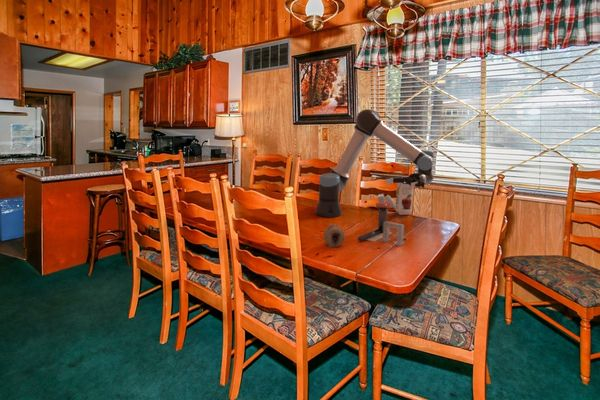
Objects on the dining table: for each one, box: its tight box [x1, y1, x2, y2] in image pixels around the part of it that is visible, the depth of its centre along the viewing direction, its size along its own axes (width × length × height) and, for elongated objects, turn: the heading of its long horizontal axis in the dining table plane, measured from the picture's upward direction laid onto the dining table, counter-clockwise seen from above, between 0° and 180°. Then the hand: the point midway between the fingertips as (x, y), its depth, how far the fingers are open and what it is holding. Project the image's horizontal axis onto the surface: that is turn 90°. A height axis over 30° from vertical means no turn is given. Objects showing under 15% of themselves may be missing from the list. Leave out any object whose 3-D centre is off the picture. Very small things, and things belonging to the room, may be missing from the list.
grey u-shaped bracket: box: [380, 221, 405, 247], centre depth 171 cm, size 9×5×9 cm, turn 50°
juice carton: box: [395, 181, 415, 216], centre depth 225 cm, size 8×9×19 cm
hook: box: [357, 201, 392, 242], centre depth 179 cm, size 7×24×14 cm, turn 139°
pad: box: [357, 231, 394, 243], centre depth 182 cm, size 9×18×1 cm, turn 140°
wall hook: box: [377, 193, 396, 209], centre depth 239 cm, size 8×10×10 cm
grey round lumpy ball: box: [323, 223, 346, 248], centre depth 167 cm, size 9×8×10 cm
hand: (398, 183), depth 191 cm, fingers open, 13 cm apart
